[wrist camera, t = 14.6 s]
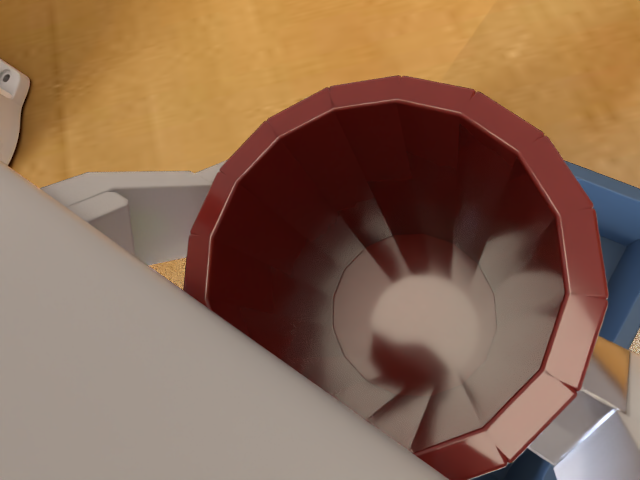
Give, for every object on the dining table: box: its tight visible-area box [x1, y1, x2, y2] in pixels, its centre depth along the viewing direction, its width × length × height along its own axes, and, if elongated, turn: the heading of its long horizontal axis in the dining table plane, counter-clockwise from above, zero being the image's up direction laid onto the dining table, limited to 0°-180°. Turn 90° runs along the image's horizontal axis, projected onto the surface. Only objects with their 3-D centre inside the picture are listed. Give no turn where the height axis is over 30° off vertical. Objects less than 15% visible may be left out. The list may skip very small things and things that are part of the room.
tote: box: [470, 160, 640, 480], centre depth 23 cm, size 15×15×6 cm
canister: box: [183, 75, 609, 480], centre depth 10 cm, size 6×6×9 cm
